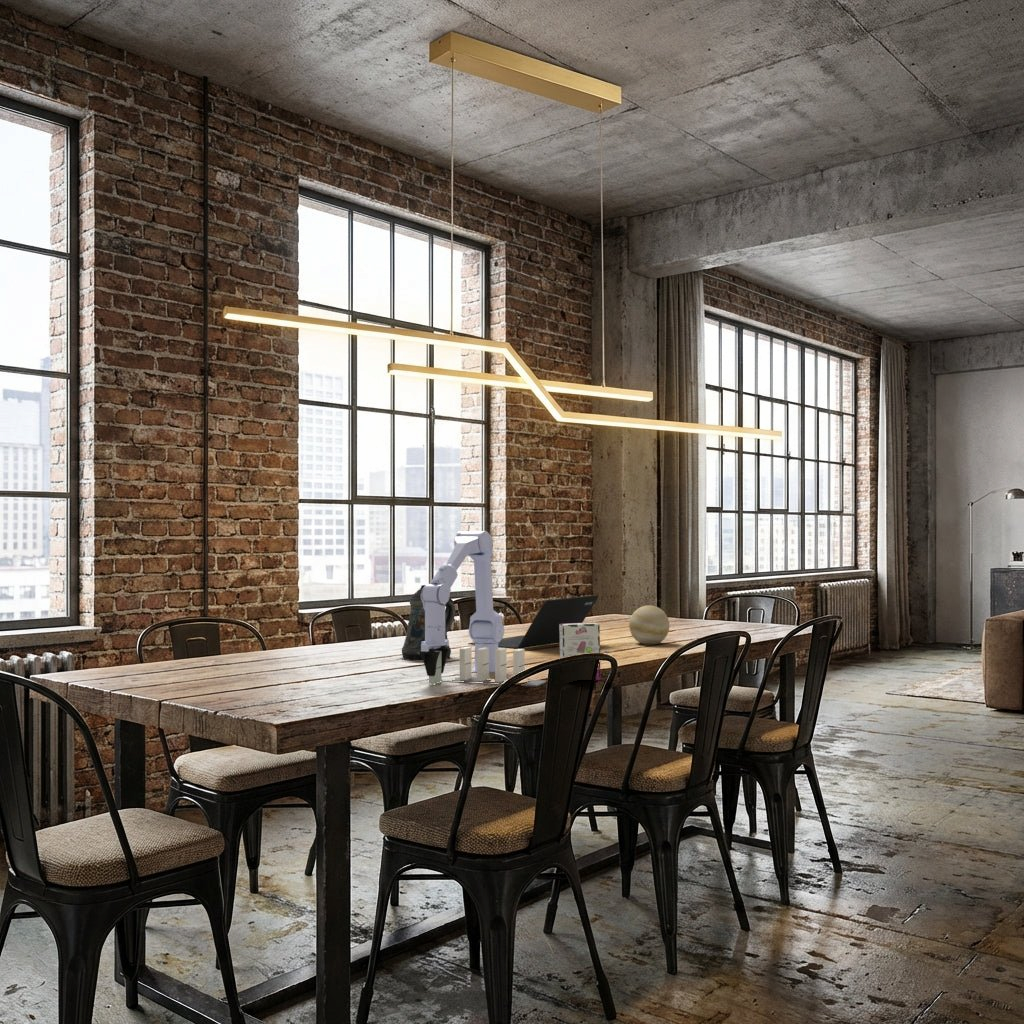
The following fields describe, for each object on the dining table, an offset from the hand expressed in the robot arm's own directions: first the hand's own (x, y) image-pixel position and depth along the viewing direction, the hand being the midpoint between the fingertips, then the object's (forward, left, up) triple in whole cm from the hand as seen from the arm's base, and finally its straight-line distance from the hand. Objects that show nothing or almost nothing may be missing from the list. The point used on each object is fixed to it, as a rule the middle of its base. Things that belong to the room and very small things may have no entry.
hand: (435, 674), depth 293 cm
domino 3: (-1, +19, -2) cm, 19 cm away
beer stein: (-56, -2, -3) cm, 56 cm away
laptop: (-92, +37, -3) cm, 100 cm away
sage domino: (0, 0, -3) cm, 3 cm away
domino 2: (-4, +14, -2) cm, 14 cm away
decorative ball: (-90, +81, -3) cm, 121 cm away
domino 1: (-6, +9, -2) cm, 11 cm away
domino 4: (+1, +24, -2) cm, 24 cm away
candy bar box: (-3, +42, -3) cm, 42 cm away
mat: (-4, +14, -3) cm, 14 cm away
